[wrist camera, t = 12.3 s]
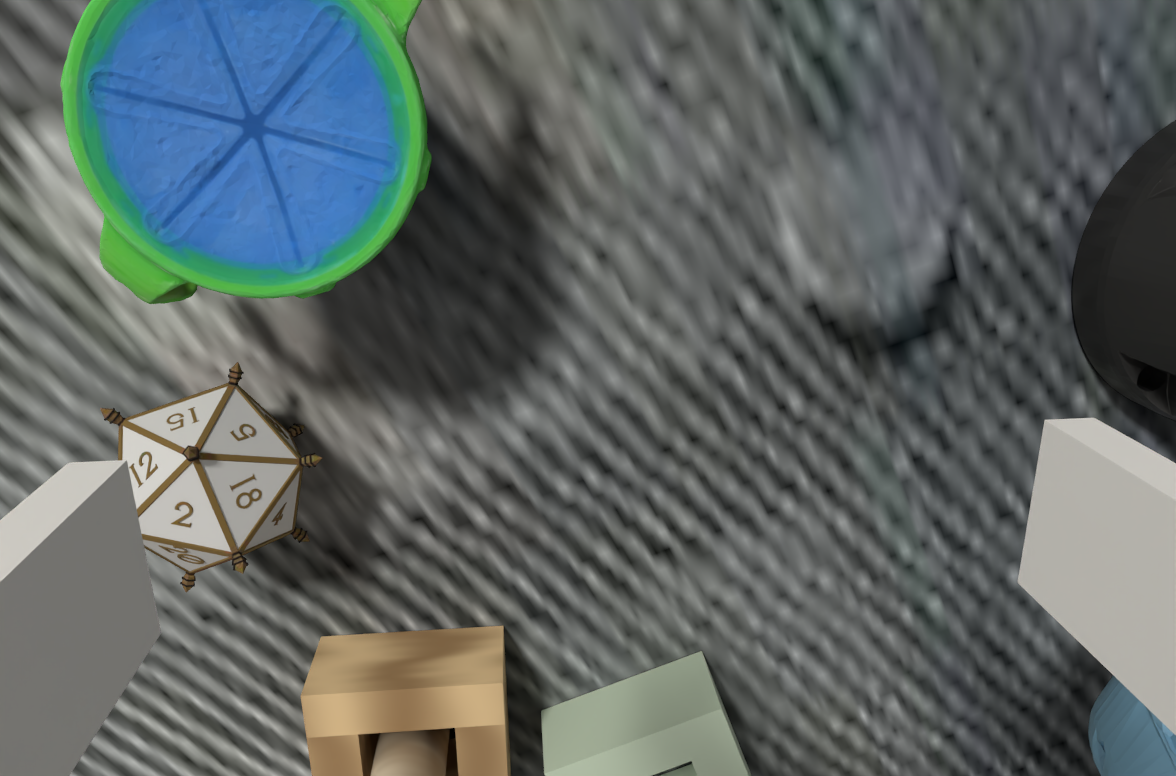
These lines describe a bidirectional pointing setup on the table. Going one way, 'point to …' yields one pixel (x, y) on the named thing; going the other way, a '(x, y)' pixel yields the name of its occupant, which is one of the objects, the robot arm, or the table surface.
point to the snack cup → (245, 140)
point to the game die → (212, 477)
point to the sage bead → (645, 727)
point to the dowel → (411, 753)
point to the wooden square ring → (408, 698)
